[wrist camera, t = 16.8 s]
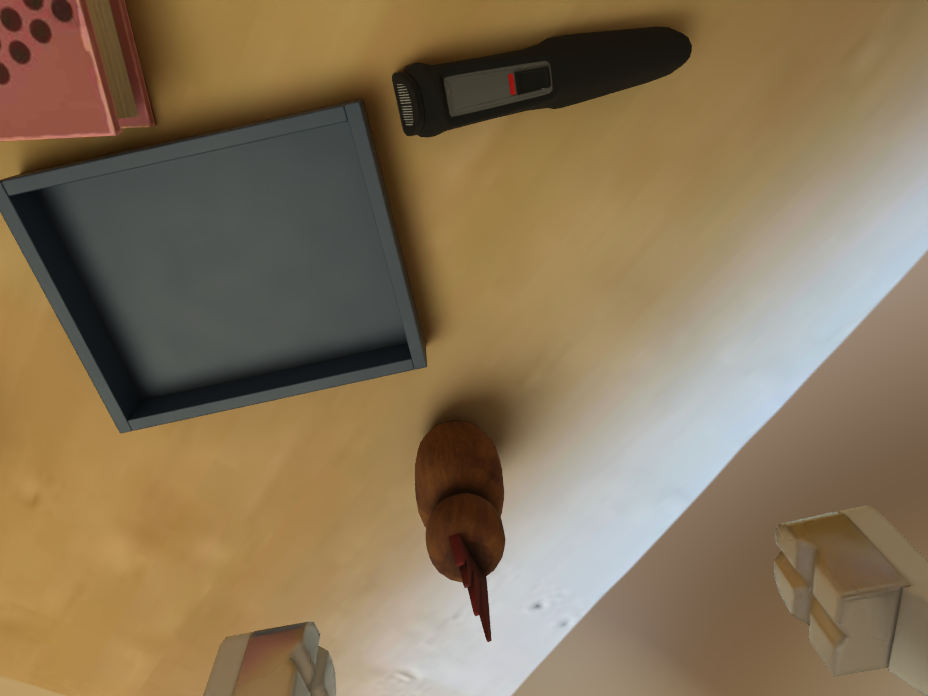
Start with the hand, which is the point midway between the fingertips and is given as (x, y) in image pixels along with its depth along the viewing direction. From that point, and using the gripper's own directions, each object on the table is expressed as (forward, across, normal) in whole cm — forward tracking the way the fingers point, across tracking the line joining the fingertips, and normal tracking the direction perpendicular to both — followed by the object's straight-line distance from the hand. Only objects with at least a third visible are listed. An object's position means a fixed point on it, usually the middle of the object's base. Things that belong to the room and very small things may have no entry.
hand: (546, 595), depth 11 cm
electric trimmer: (+29, -6, -6) cm, 30 cm away
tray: (+29, +14, +1) cm, 32 cm away
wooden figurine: (+29, +4, +17) cm, 34 cm away
